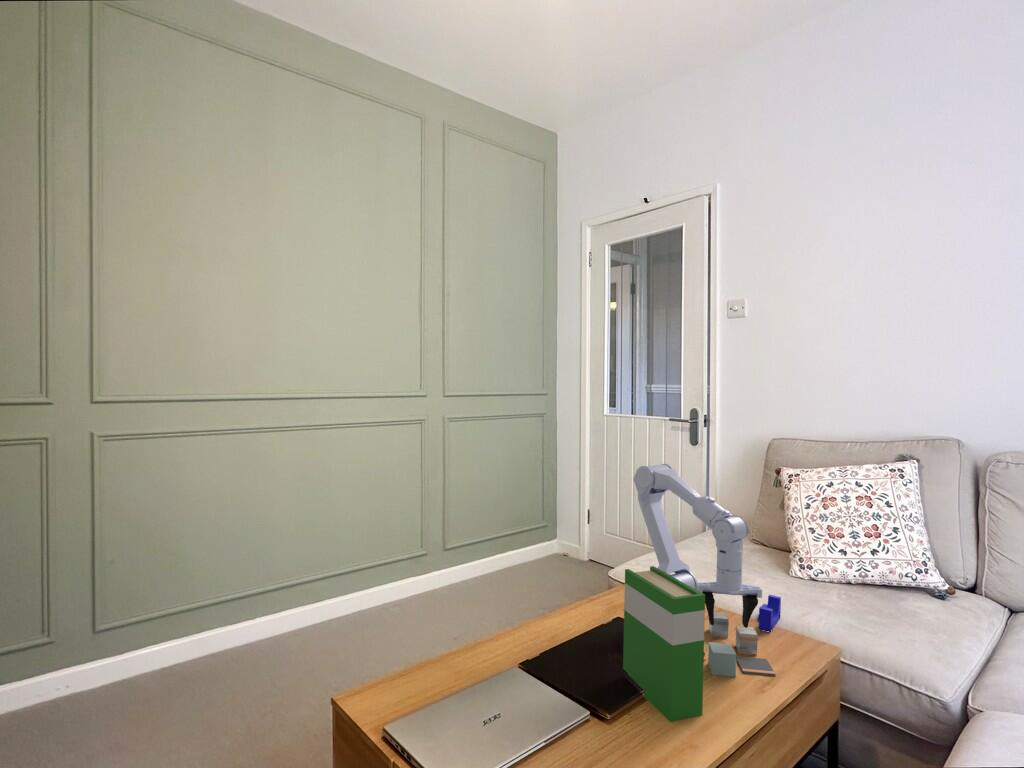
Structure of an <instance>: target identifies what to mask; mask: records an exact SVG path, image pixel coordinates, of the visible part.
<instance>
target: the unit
mask: <svg viewBox="0 0 1024 768" xmlns="http://www.w3.org/2000/svg"><path fill="white" fill-rule="evenodd" d="M736 656H737V653H736V651H735V649H734V647H733V645H732V643H721V642H710V641H708V658H707V659H708V660H707V664H708V667H709V669H710V672H711V675H713V676H714V675H715V676H725V677H737V660H736Z"/></svg>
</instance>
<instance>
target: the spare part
mask: <svg viewBox="0 0 1024 768" xmlns="http://www.w3.org/2000/svg"><path fill="white" fill-rule="evenodd" d="M758 640H759V638H758V633H757V631H756V630H755V629H754V627H753V626H748V628H745V627H744V626H739V625H737V626H735V647H736V649H737V651H738V653H739V654H740V653H743V654H742V655H750V654H757V655H758ZM744 653H745V654H744Z"/></svg>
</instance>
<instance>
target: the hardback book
mask: <svg viewBox="0 0 1024 768" xmlns="http://www.w3.org/2000/svg"><path fill="white" fill-rule="evenodd" d="M670 575H671V574H670ZM670 575H669V574H667V573H665V572H663V571H661V570H660V569H658V567H656V566H653V565H651V566H649V570H643V571H635V572H634V571H632V570H631V569H629V568H625V569H624V598H623V599H624V600H623V601H624V602H623V603H624V605H623V609H624V610H623V613H624V614H623V648H622V649H623V650H622V651H623V653H622V655H623V657H622V659H623V660H622V670H623V669H624V670H625V671H626V672H627V673H628V675H629V676H630V677H631V678H632V679H633V680H634V681H635V682H636V683H637V684H638V685H639V686H640V687H641V688H642V689H643V690H644V696H643V698H645V699H646V701H647V702H649V704H651V705H652V706H653V707H654V708H655V709H656V710H657V711H658V712H659V713H660V714H662V716H663V717H665V718H666V720H667V721H669V722H670V723H675V722H679V721H683V720H688V719H691V718H696V717H700V716H703V703H704V701H703V700H704V699H703V697H704V696H703V695H704V663H705V662H704V660H705V657H704V656H705V623H706V622H705V619H706V617H705V615H706V614H705V613H706V604H705V594H703V593H701V592H699V591H697V590H696V589H694V588H692V587H690V586H688V585H687V584H685V583H683V582H681V581H679V580H678V579H676V578H674V577H672V576H670Z"/></svg>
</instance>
